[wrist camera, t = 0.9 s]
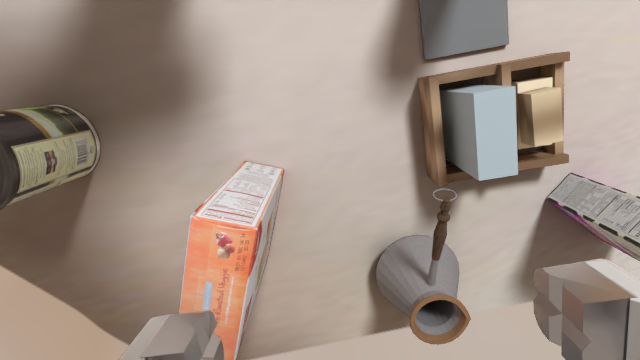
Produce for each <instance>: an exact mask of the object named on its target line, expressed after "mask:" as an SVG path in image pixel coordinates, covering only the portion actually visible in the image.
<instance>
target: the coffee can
mask: <svg viewBox="0 0 640 360" xmlns="http://www.w3.org/2000/svg"><path fill="white" fill-rule="evenodd" d="M99 157H100V142H99V138H98V135H97V133H96V130H95V129H94V127H93V126H92V124H91V123H90V122H89V121H88V119H87V118H86V117H84V116H83V115H82V114H81V113H79V112H78V111H76V110H74V109H72V108H70V107H67V106H63V105H46V106H40V107H30V108H20V109H10V110H0V210H1V209H2V208H4V207H6V206H8V205H11V204H13V203H16V202H18V201H21V200H23V199H26V198H28V197H31V196H33V195H36V194H38V193H41V192H44V191H46V190H49V189H51V188H53V187H56V186H58V185H61V184H64V183H66V182H69V181H71V180H74V179H76V178H80V177H83V176H85V175H87V174H88V173H90V172H91V171H92V170H93V169H94V168H95V166H96V165H97V163H98V160H99Z"/></svg>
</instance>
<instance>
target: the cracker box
mask: <svg viewBox="0 0 640 360" xmlns="http://www.w3.org/2000/svg"><path fill="white" fill-rule="evenodd" d="M283 174H284V169H281V168H276V167H271V166H267V165H262V164H257V163H252V162H248V161H244V162H243V163H242V164H241V166H240V167H239V168H237V170H236V171H235V172H234V173H233V174H232V175H231V176H230V177H229V178H228V179H227V180H226V181H225V182H224V183H223V184H222V185H221V186H220V187H219V188H218V189H217V190H216V191H215V192H214V193H213V194H212V195H211V196H210V197H209V198H208V199H207V200H206V201H205V202H204V203H203V204H202V205H201V206H200V207H198V208H197V209H196V211H195V212H194V213H193V214H192V215H191V216H190V224H189V233H188V242H187V250H186V258H185V266H184V274H183V283H182V292H181V300H180V309H179V313H188V312H197V311H206V310H210V311H211V312H213V313H214V316H215V319H216V322H217V326H216V328H215V330H214V333H215V334H216V335H217V336H218V337H219V338H221V340H222V344H223V349H224V360H236V358H237V355H238V351H239V348H240V345H241V342H242V338H243V335H244V332H245V328H246V325H247V322H248V318H249V315H250V312H251V309H252V306H253V303H254V300H255V297H256V293H257V290H258V287H259V284H260V281H261V277H262V274H263V271H264V268H265V265H266V262H267V258H268V253H269V248H270V244H271V239H272V234H273V228H274V223H275V218H276V213H277V208H278V202H279V197H280V191H281V186H282V180H283Z"/></svg>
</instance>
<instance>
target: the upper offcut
mask: <svg viewBox="0 0 640 360" xmlns="http://www.w3.org/2000/svg"><path fill="white" fill-rule="evenodd" d="M517 100H518V112H519V123H520V135H521V143H524V144H527V145H531V146H534V147H537V146H541V145H546V144H550V143H555V142H560V141H564V137H563V118H562V99H561V88H558V87H543V88H539V89H534V90H530V91H526V92H521V93H517Z"/></svg>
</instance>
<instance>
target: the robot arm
mask: <svg viewBox="0 0 640 360" xmlns="http://www.w3.org/2000/svg"><path fill="white" fill-rule="evenodd" d="M533 285H534V286H535V287H536V288H537V289H538V290H539V291H540V292H539V294H538V295H537V296H536V298H535V299H534V314H535V317H536V320H537V323H538V325H539V327H540V329H541V331H542V332H543V334H544V335H545V336H546V337H547V339H548V340H549V341H551V342H553V343H555V344H557V345H559V346H561V347H562V356H563V357H564V358H565V359H566V360H640V280H639V279H638V278H636V277H634V276H633V275H631V274H629V273H628V272H626V271H625V270H623V269H621V268H620V267H618V266H617V265H615V264H613V263H612V262H610V261H608V260H606V259H601V258H599V259H593V260H587V261H581V262H576V263H570V264H563V265H557V266H550V267H544V268H537V269H535V272H534V275H533ZM216 326H217V322H216V319H215V316H214V313H213V312H211V311H210V310H206V311H197V312H188V313H178V314H168V315H162V316H155V317H153V318H151V319H150V320H149V321H148V322H147V324H146V325H145V326H144V327H143V329H142V330H141V331H140V333H139V334H138V335H137V336H136V338H135V339H134V340H133V342H132V343H131V344H130V345H129V347H128V348H127V349H126V350H125V352H124V353H123V354H122V356H121V357H120V358H119V359H118V360H224V349H223V344H222V340H221V338H219V337H218V336H217V335H216V334H215V333H214V330H215V328H216Z"/></svg>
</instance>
